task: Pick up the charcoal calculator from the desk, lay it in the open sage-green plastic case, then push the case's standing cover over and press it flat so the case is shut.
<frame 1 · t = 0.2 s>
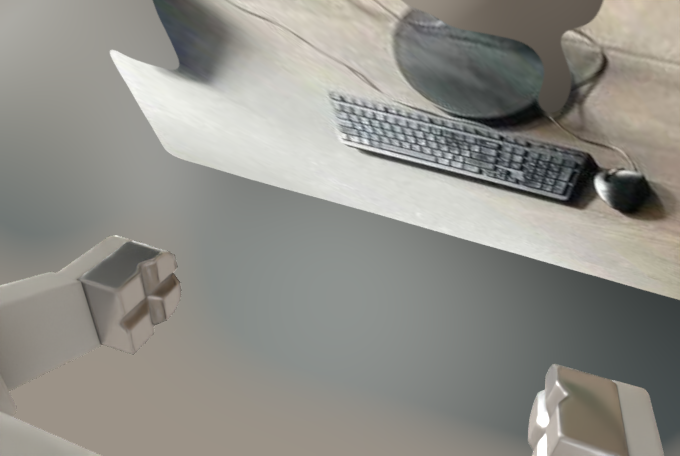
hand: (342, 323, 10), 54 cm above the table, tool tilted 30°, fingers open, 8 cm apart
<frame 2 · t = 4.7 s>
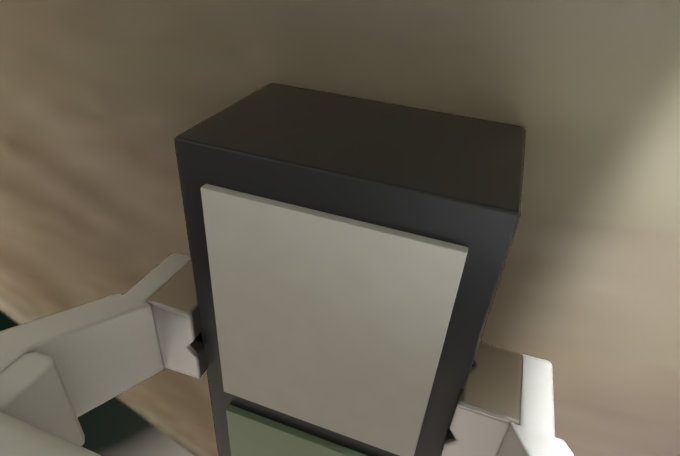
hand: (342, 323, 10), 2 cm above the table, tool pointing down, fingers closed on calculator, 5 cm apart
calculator: (368, 276, 11), on the table, touching gripper
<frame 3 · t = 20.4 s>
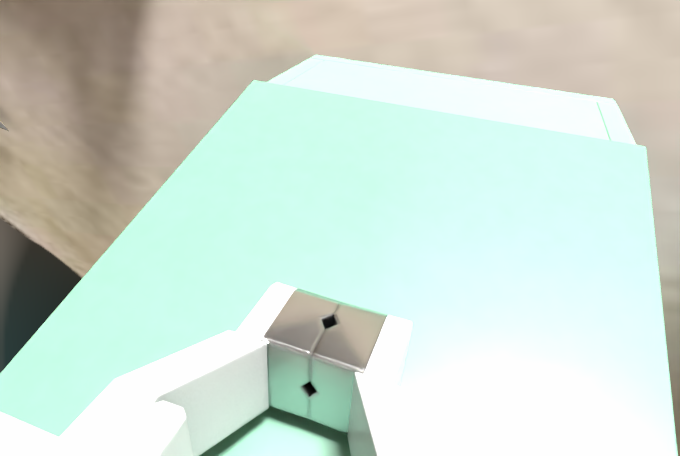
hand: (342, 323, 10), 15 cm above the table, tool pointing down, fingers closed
case cover: (370, 266, 12), point 13 cm above the table, hinge at 73.9°, touching gripper
calculator case: (429, 199, 25), on the table
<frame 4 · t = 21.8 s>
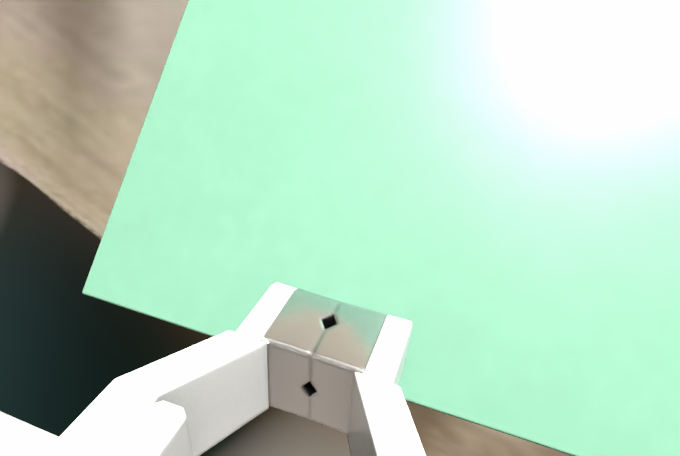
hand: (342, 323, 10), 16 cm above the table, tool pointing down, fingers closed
case cover: (409, 99, 12), point 11 cm above the table, hinge at 43.4°
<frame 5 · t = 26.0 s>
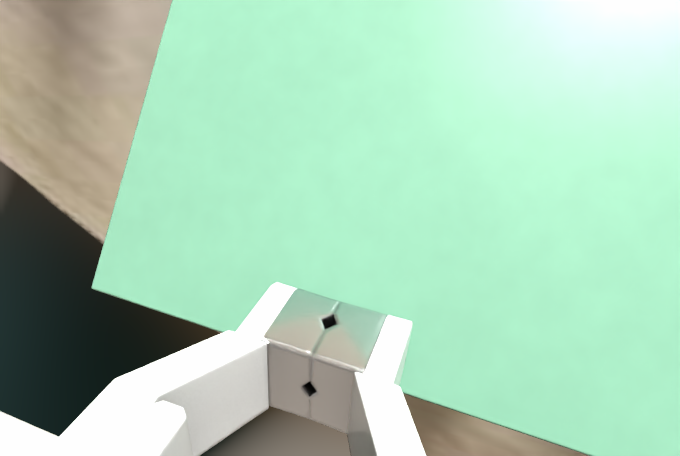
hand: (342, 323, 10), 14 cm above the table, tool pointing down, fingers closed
case cover: (417, 81, 11), point 10 cm above the table, hinge at 36.7°
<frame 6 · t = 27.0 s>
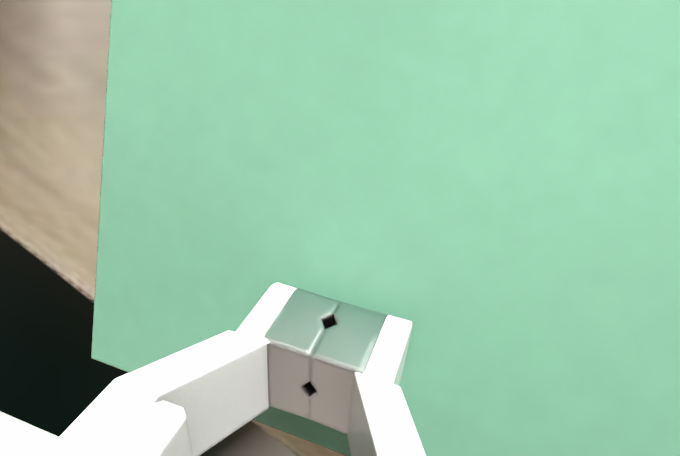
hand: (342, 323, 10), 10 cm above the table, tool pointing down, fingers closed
case cover: (386, 156, 10), point 9 cm above the table, hinge at 20.2°, touching gripper
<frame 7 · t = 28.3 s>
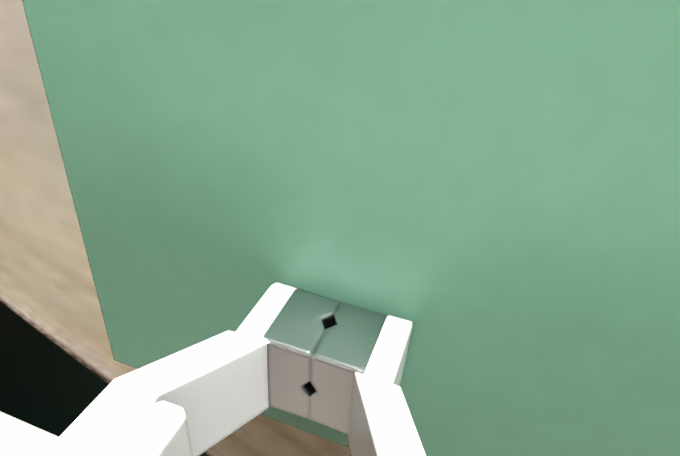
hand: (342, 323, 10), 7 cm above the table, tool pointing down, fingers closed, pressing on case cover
case cover: (359, 201, 9), point 6 cm above the table, hinge at 1.8°, touching gripper
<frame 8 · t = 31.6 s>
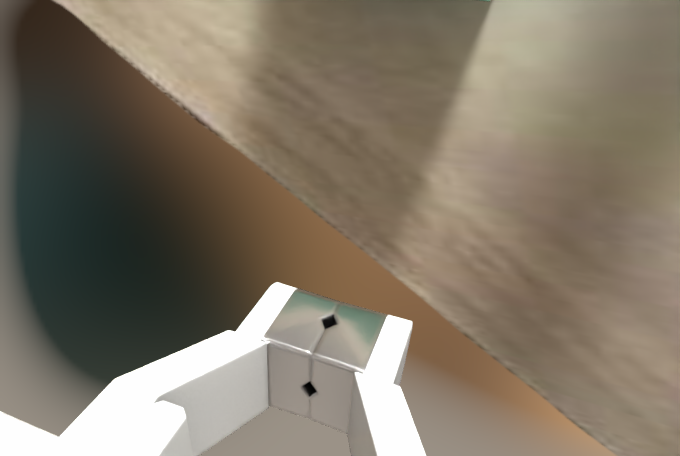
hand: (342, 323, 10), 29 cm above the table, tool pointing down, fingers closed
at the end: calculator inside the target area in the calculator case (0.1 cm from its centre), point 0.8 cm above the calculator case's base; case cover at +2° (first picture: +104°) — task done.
